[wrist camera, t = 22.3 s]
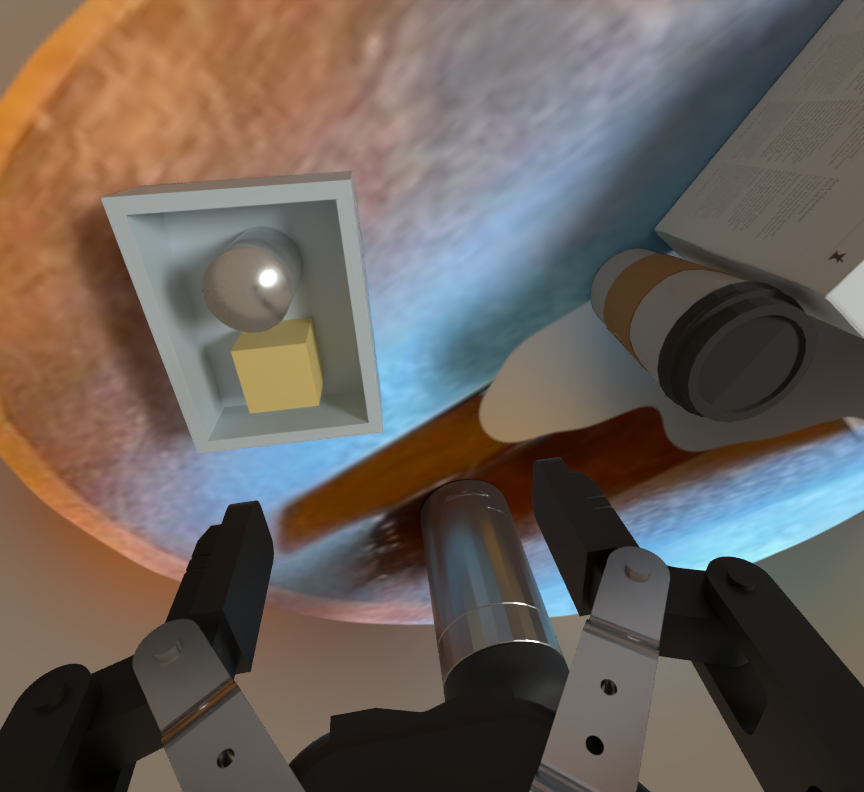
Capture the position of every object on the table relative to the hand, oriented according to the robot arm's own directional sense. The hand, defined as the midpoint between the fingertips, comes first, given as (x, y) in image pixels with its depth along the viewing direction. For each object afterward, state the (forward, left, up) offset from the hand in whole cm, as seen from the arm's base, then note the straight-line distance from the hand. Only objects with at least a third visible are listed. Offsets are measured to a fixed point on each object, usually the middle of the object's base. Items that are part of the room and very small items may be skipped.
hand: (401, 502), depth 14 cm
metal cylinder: (+1, +8, -25) cm, 26 cm away
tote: (-2, +8, -26) cm, 27 cm away
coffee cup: (-3, -20, -26) cm, 33 cm away
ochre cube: (-6, +8, -25) cm, 27 cm away
